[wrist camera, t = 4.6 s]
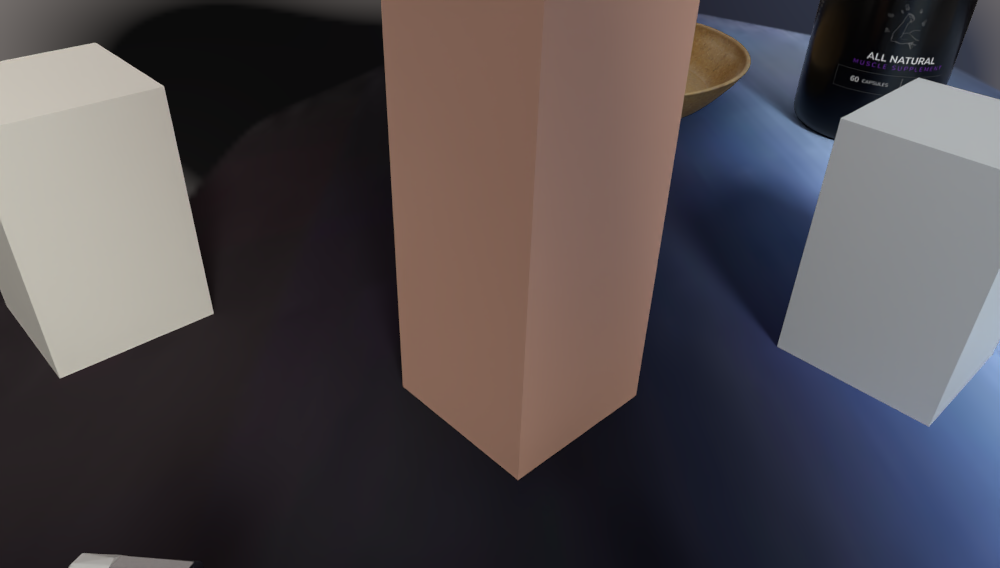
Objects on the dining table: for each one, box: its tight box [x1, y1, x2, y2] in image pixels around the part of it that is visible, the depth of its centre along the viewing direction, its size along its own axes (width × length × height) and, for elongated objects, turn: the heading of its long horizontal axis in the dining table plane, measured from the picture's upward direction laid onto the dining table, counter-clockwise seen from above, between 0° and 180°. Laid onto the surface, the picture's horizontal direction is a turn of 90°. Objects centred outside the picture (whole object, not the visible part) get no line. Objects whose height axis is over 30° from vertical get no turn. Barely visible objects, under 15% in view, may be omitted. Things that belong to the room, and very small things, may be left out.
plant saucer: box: [681, 23, 751, 118], centre depth 45 cm, size 15×15×3 cm
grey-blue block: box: [777, 78, 1000, 426], centre depth 24 cm, size 5×5×8 cm
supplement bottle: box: [794, 0, 978, 139], centre depth 39 cm, size 7×7×12 cm
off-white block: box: [0, 43, 214, 378], centre depth 25 cm, size 5×5×8 cm
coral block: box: [381, 0, 700, 480], centre depth 21 cm, size 5×5×13 cm
